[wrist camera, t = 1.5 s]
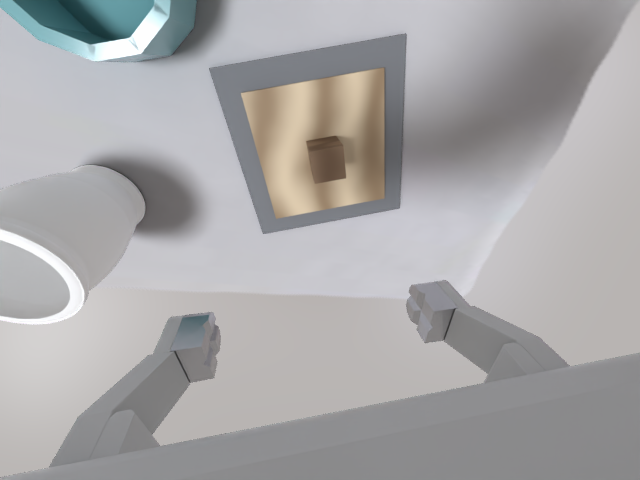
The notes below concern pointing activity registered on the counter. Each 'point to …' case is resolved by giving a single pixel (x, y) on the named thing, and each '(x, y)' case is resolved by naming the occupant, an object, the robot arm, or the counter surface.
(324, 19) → the counter surface
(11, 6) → the bowl
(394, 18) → the counter surface
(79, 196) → the jar
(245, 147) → the mat
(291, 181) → the lid
